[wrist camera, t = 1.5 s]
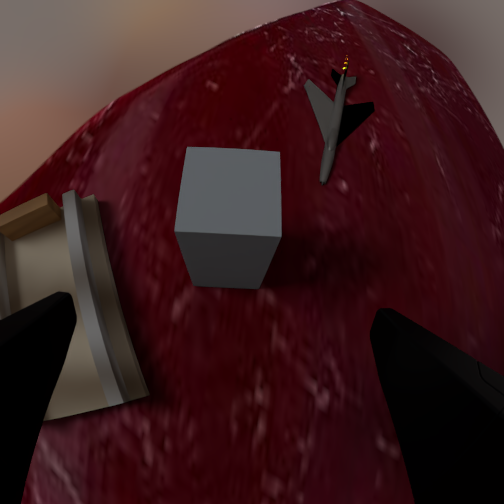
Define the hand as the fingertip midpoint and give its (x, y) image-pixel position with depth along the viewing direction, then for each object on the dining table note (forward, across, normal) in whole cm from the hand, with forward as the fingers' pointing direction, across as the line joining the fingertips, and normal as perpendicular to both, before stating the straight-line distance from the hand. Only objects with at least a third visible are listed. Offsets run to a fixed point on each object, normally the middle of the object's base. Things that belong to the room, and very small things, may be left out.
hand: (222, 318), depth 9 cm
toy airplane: (+25, -10, -7) cm, 28 cm away
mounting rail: (+9, +13, +8) cm, 18 cm away
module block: (+13, 0, +4) cm, 14 cm away
